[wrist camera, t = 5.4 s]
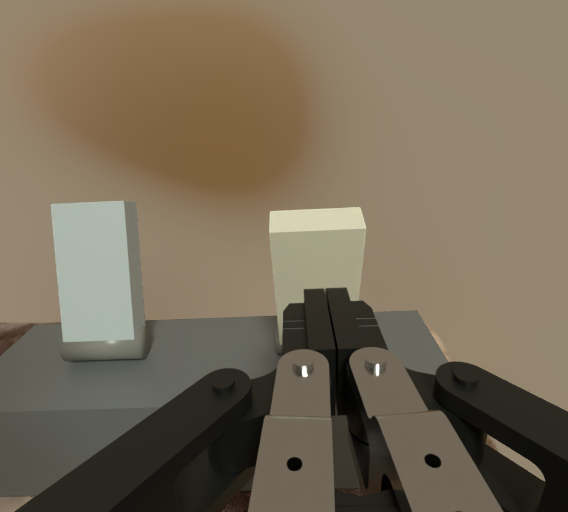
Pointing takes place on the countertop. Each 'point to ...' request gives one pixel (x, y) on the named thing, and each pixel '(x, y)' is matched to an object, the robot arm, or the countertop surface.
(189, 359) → the grey holder base
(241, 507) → the countertop surface
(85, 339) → the grey-blue slab
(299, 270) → the tall cream slab
